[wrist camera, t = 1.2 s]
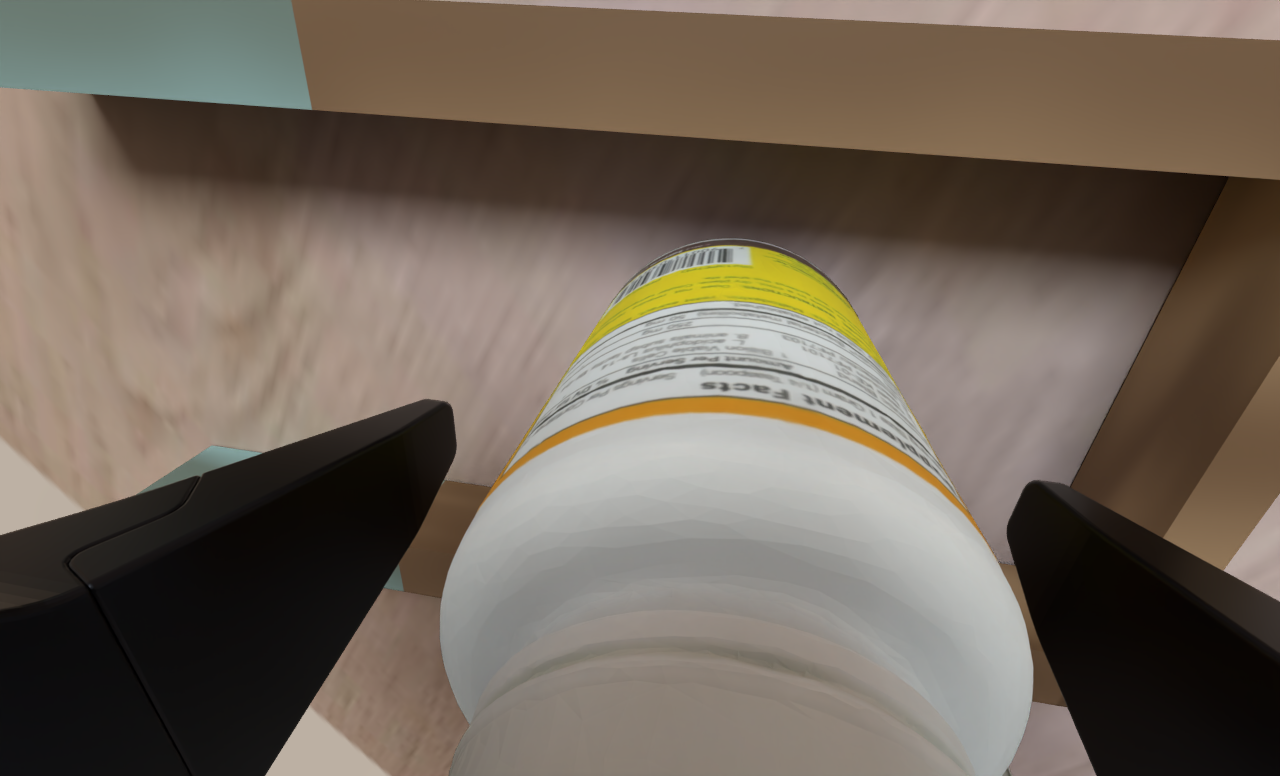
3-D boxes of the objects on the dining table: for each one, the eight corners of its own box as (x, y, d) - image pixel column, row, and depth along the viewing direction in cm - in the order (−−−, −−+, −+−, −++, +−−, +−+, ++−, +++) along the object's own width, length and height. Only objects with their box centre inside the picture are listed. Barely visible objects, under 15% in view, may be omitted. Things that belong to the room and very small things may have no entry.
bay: (1057, 619, 14) (1117, 715, 12) (226, 488, 17) (148, 546, 14) (1376, 67, 8) (1599, 56, 6) (55, 0, 11) (-115, -26, 9)
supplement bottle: (762, 501, 14) (804, 1241, 5) (563, 392, 13) (198, 994, 4) (921, 318, 11) (1645, 1186, 2) (681, 174, 11) (378, 549, 2)
